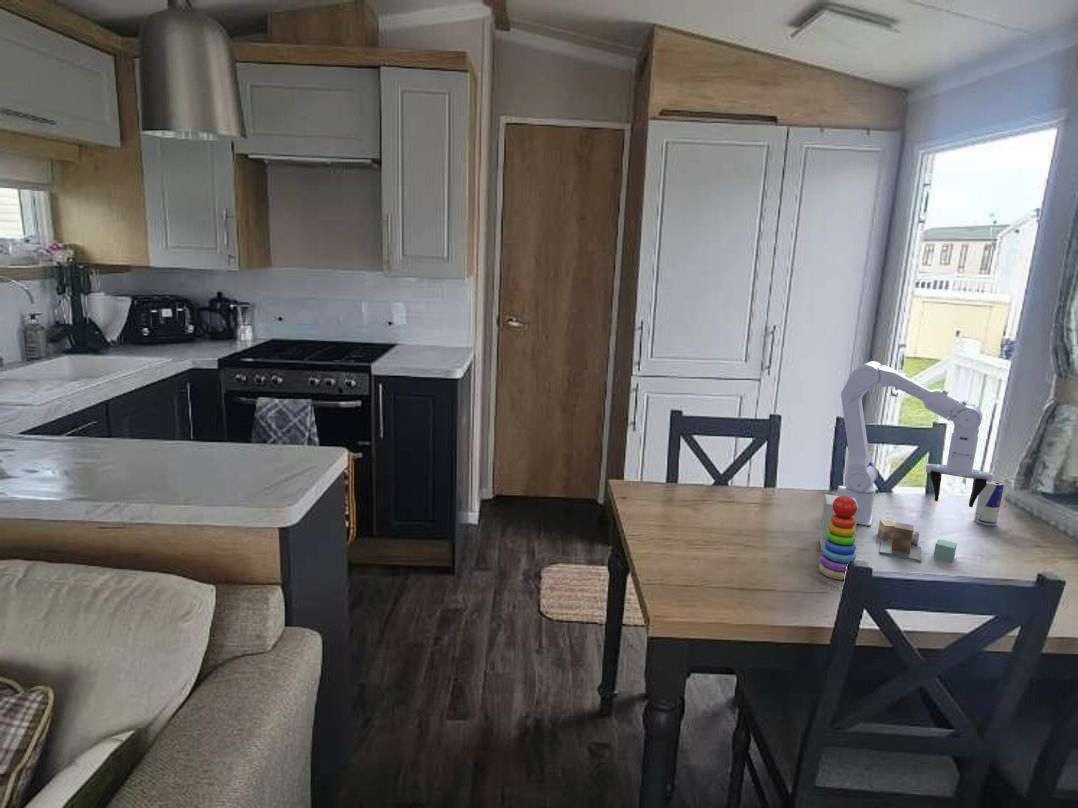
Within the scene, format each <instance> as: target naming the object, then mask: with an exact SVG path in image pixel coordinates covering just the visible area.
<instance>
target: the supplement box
mask: <svg viewBox="0 0 1078 808" xmlns="http://www.w3.org/2000/svg"><path fill="white" fill-rule="evenodd" d="M837 497H839V496H837V495H833V494H826V493H825V494H824V502H823V509H822V515H821V516H822V518H821V526H820V532H819V543H820V550H821V551H822V552H823V549H824V547H826V546H825V541H826V540H827V539H828V538H827V533H828V532H829V525H830V524H831V523H832V521H831V518H832V516H833V515H835V512H834V510H833V502H834V500H835V499H836V498H837ZM852 499H854V500H855V498H852ZM855 502H856V500H855ZM856 504H857V502H856ZM858 509H859V508H858V505H857V511H856V513H855V514H854V515H853V516H852V517H853V518H854V519H855V525H854V526H853V527H854V529H855V533H854V536H855V537H856V530H857V517H858Z"/></svg>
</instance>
